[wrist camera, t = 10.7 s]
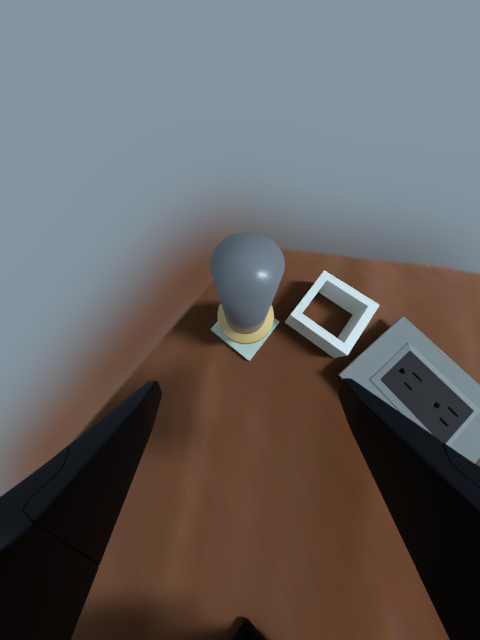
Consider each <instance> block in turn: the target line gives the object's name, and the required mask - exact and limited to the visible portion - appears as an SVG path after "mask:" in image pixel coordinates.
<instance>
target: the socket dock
mask: <svg viewBox="0 0 480 640" xmlns="http://www.w3.org/2000/svg"><path fill="white" fill-rule="evenodd" d="M318 292H319V293H320V294H322V295H323V296H325V297H326V298H328V299H329V300H331V301H332V302H334V303H335V304H337V305H339V306H340V307H342V308H343V309H345V310H346V311H348V312H349V313H351V314H352V317H351V318H350V320H349V321H348V323H347V324H346V326H345V327H344V329H343V330H342V332H341V333H340V335H339V336H338V338H336V337H335V336H333V335H332V334H331V333H329V332H328V331H326V330H325V329H323V328H322V327H320V326H319V325H318V324H316V323H315V322H313V321H312V320H310V319H309V318H308V317H306V316H305V315H303V314H302V313H303V311H304V310H305V309H306V307H307V306H308V305H309V303H310V302H311V301H312V299H313V298H314V297H315V295H316V294H317V293H318ZM378 307H379V304H377V303H376V302H374V301H372V300H371V299H369V298H368V297H366V296H364V295H363V294H361V293H360V292H358V291H357V290H355V289H353V288H352V287H350V286H349V285H347V284H345V283H344V282H342V281H341V280H339V279H337V278H336V277H334V276H333V275H331V274H329V273H328V272H326V271H325V270H324V272H323V273H322V274H321V275H320V277H319V278H318V279H317V281H316V282H315V283H314V284H313V286H312V287H311V288H310V290H309V291H308V292H307V294H306V295H305V296H304V298H303V299H302V300H301V301H300V303H299V304H298V305H297V307H296V308H295V309H294V311H293V312H292V313H291V315H290V316H289V317H288V318H287V320H286V321H285V323H286V324H288V325H289V326H290V327H292V328H293V329H294V330H296V331H297V332H299V333H300V334H301V335H303V336H304V337H305V338H307V339H308V340H310V341H311V342H312V343H314V344H315V345H316V346H318V347H319V348H321V349H322V350H323V351H325V352H326V353H327V354H329V355H330V356H332V357H333V358H337V357H342V356H347V355H348V354H349V353H350V351H351V349H352V348H353V346H354V345H355V343H356V342H357V340H358V338H359V337H360V335H361V334H362V332H363V331H364V329H365V327H366V326H367V324H368V323H369V321H370V320H371V318H372V316H373V315H374V313H375V312H376V310H377V309H378Z"/></svg>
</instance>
